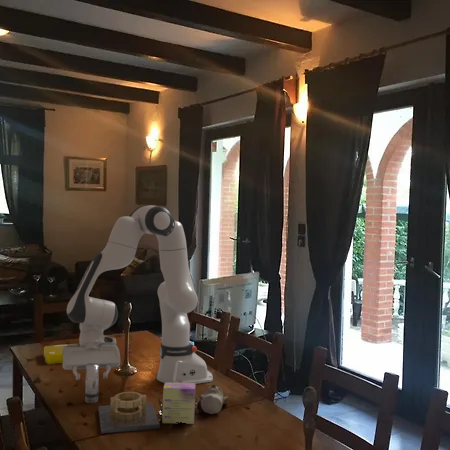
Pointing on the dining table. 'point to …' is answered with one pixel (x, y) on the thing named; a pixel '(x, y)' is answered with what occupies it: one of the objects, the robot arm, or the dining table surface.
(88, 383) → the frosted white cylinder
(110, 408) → the collar stand
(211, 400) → the ceramic sculpture
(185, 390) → the box
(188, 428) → the dining table surface
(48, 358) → the element tile
